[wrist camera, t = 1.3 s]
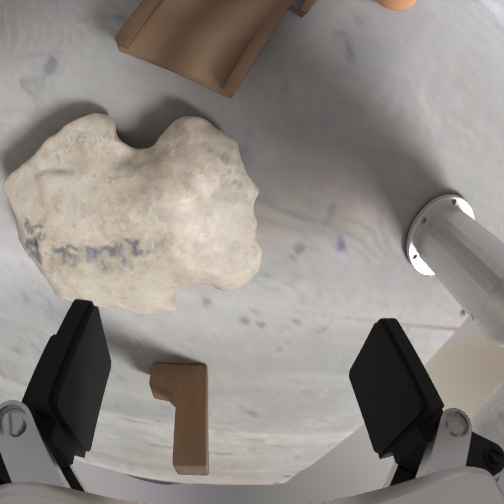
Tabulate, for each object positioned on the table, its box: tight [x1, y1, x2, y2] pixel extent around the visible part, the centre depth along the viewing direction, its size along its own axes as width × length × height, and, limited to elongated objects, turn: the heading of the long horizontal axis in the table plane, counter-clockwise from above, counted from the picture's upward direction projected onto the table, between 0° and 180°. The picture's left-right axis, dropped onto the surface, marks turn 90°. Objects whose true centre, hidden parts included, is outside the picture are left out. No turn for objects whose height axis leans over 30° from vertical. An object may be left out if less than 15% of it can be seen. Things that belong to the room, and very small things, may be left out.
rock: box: [4, 113, 262, 314], centre depth 30 cm, size 8×25×30 cm
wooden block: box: [149, 363, 209, 475], centre depth 40 cm, size 9×4×18 cm, turn 86°
